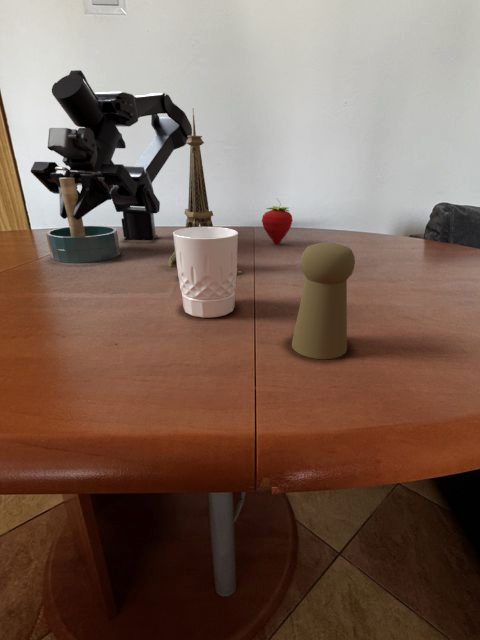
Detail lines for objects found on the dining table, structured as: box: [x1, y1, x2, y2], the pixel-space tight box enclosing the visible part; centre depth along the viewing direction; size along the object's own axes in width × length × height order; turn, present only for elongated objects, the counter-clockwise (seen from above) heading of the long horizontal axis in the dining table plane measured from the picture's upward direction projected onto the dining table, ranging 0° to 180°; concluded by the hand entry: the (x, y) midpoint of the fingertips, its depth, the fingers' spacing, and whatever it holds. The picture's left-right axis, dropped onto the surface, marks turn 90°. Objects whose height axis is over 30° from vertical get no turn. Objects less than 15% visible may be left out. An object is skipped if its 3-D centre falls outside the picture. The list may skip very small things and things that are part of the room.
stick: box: [59, 178, 85, 237], centre depth 68 cm, size 4×4×13 cm
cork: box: [291, 242, 356, 360], centre depth 39 cm, size 6×6×11 cm
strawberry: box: [261, 199, 293, 245], centre depth 86 cm, size 6×8×10 cm
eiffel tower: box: [165, 109, 243, 279], centre depth 62 cm, size 11×11×25 cm
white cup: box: [172, 226, 239, 319], centre depth 48 cm, size 8×8×10 cm
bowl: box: [45, 225, 121, 264], centre depth 72 cm, size 12×12×5 cm
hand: (68, 217), depth 67 cm, fingers closed on stick, 2 cm apart
